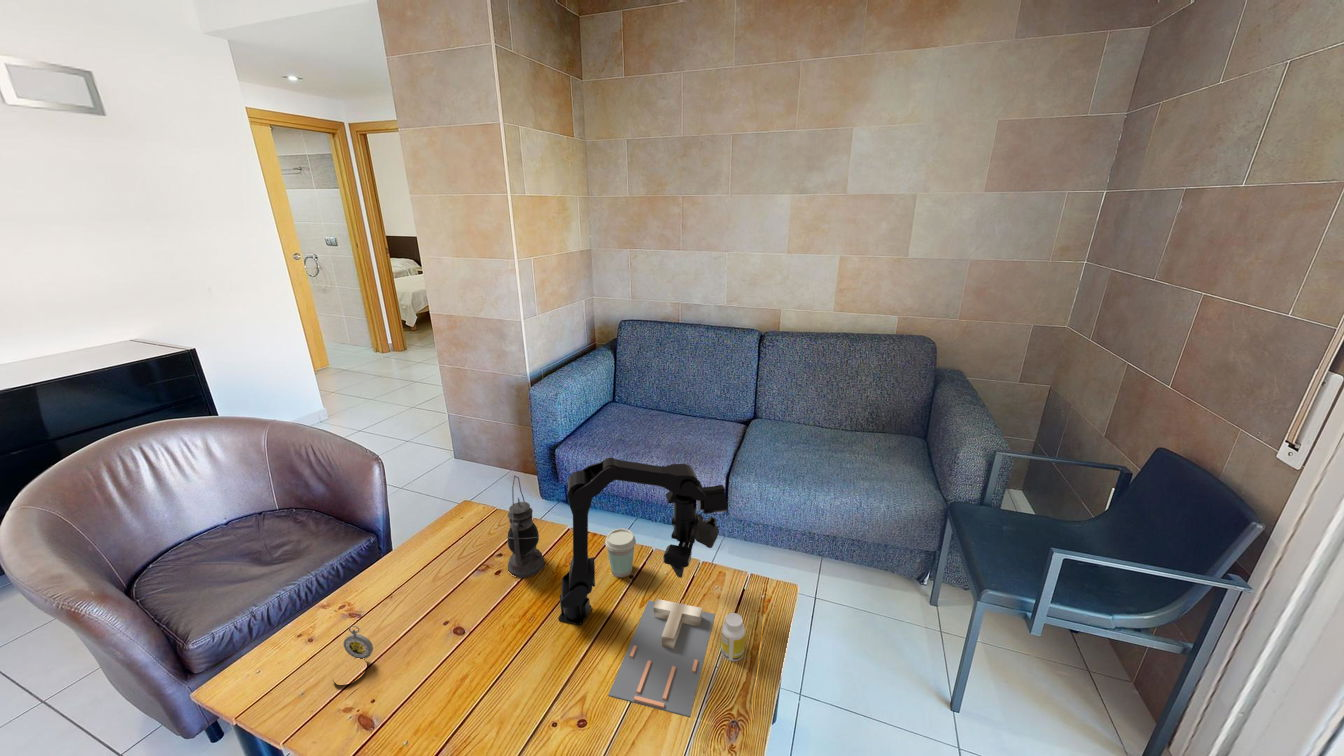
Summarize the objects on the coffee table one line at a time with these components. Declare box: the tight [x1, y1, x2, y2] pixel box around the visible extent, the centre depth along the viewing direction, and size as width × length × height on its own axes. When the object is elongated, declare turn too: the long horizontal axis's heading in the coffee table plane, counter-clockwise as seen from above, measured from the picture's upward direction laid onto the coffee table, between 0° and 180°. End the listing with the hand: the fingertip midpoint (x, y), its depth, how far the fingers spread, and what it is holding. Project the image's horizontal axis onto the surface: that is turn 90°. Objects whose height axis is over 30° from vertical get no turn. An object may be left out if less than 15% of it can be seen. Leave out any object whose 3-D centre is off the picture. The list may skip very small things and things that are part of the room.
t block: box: [653, 598, 703, 649], centre depth 121 cm, size 12×11×3 cm
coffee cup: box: [604, 527, 636, 578], centre depth 140 cm, size 8×8×12 cm
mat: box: [607, 599, 716, 719], centre depth 116 cm, size 18×28×1 cm, turn 165°
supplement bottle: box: [720, 612, 746, 662], centre depth 114 cm, size 5×5×10 cm
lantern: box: [506, 475, 546, 579], centre depth 140 cm, size 12×11×30 cm
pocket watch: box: [343, 625, 374, 659], centre depth 110 cm, size 8×8×10 cm
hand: (684, 565), depth 128 cm, fingers open, 9 cm apart
